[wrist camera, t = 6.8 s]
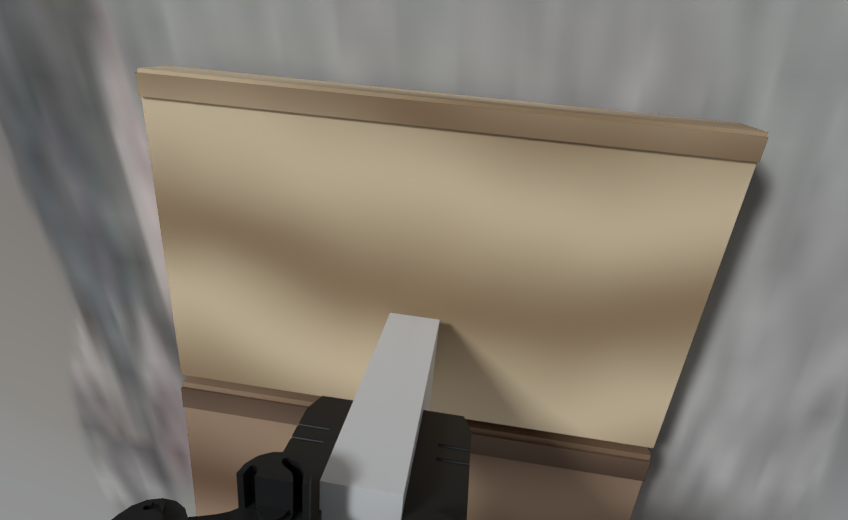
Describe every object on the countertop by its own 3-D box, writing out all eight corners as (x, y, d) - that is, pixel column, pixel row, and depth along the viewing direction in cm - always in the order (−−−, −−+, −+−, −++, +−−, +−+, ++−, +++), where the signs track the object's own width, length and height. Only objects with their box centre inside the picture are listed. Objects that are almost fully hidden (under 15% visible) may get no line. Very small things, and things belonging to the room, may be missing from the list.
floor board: (206, 357, 19) (180, 383, 17) (637, 422, 17) (652, 457, 16) (222, 545, 22) (202, 581, 21) (579, 611, 21) (586, 655, 20)
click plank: (171, 66, 14) (134, 68, 13) (739, 123, 13) (769, 133, 12) (204, 350, 19) (180, 376, 17) (640, 416, 17) (654, 450, 16)
